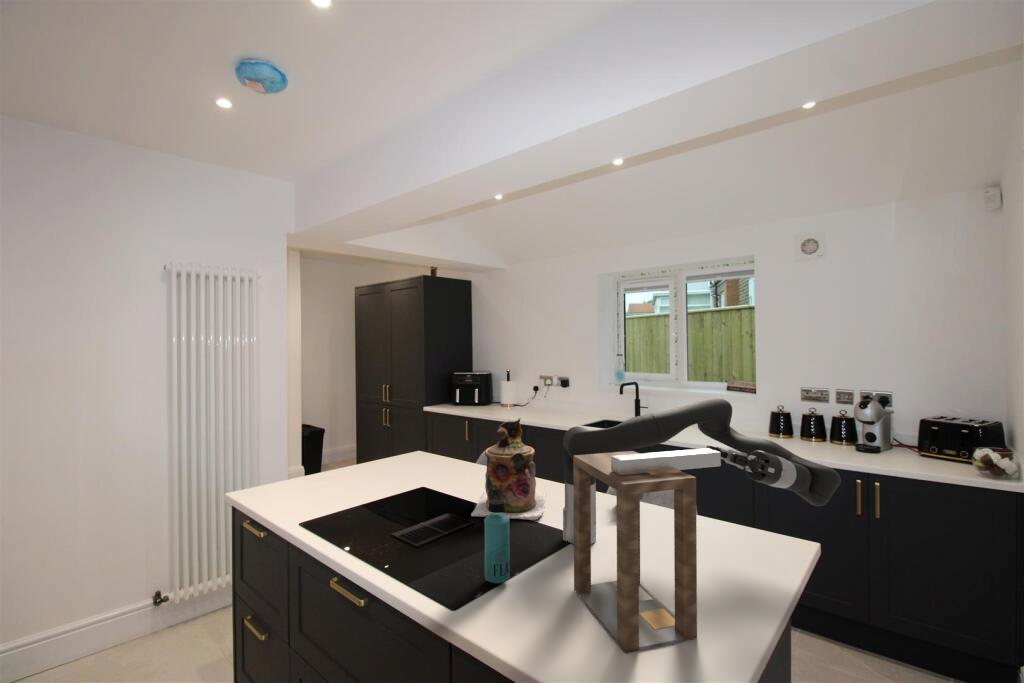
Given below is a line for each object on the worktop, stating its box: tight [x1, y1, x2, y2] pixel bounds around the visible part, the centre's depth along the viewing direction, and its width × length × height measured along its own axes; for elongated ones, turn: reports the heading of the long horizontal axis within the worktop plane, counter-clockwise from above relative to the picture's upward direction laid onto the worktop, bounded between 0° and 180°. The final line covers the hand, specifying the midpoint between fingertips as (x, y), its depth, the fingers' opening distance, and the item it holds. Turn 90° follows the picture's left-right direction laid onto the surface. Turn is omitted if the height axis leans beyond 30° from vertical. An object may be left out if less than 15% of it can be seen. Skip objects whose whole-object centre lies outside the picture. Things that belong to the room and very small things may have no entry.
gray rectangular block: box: [611, 448, 722, 475], centre depth 100 cm, size 24×4×3 cm, turn 106°
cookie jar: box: [470, 417, 548, 521], centre depth 169 cm, size 25×25×32 cm
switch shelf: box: [573, 450, 698, 654], centre depth 103 cm, size 16×24×32 cm, turn 16°
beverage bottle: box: [483, 500, 511, 584], centre depth 116 cm, size 6×7×20 cm
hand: (719, 453), depth 113 cm, fingers open, 8 cm apart
